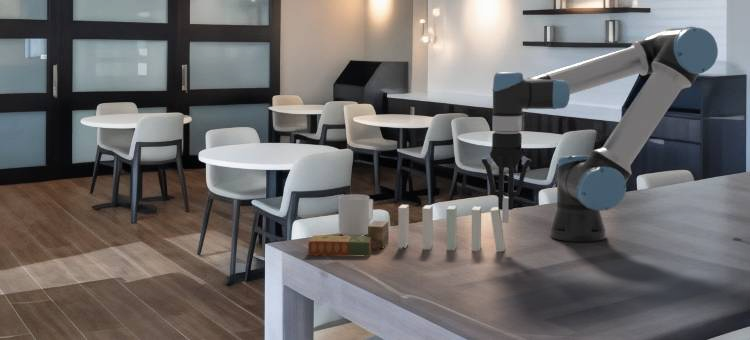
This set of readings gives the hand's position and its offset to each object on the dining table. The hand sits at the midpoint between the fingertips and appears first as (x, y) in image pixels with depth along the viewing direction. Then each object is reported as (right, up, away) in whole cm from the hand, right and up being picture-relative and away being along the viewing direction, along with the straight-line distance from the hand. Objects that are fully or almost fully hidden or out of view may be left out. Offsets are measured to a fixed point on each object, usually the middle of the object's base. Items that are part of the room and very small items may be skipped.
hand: (505, 221), depth 227 cm
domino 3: (-14, -7, +4) cm, 16 cm away
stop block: (-33, -7, +8) cm, 35 cm away
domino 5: (-1, -7, +1) cm, 8 cm away
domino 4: (-7, -7, +3) cm, 11 cm away
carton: (-43, -9, 0) cm, 44 cm away
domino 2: (-20, -7, +5) cm, 22 cm away
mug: (-39, -5, +24) cm, 46 cm away
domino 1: (-26, -7, +7) cm, 28 cm away
